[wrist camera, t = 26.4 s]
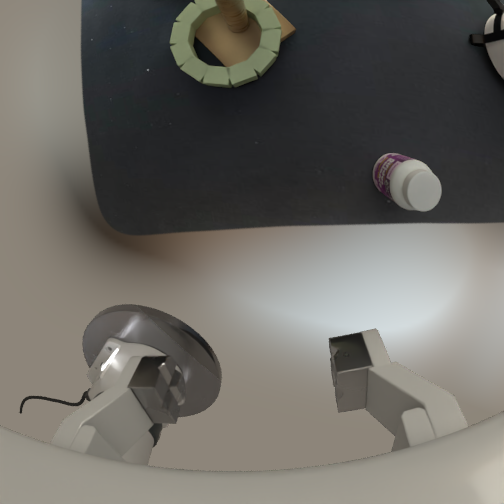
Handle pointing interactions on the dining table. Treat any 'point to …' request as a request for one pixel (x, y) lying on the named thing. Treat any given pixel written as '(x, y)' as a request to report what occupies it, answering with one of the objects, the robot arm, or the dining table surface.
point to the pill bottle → (407, 182)
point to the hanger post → (235, 32)
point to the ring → (239, 72)
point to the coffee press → (493, 36)
